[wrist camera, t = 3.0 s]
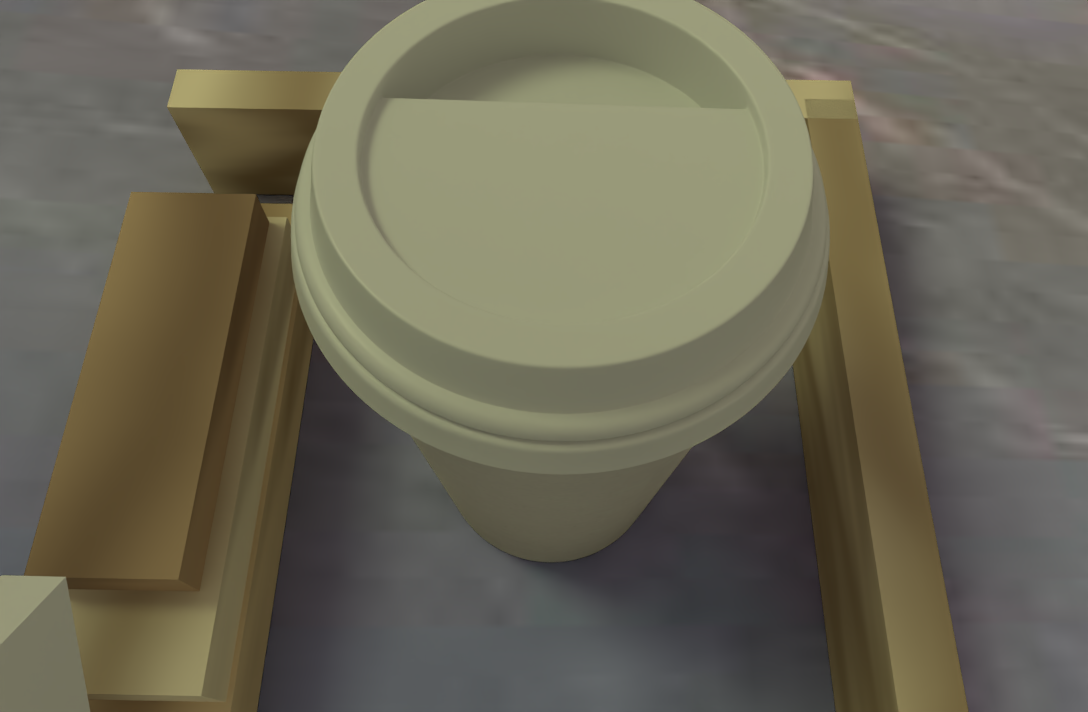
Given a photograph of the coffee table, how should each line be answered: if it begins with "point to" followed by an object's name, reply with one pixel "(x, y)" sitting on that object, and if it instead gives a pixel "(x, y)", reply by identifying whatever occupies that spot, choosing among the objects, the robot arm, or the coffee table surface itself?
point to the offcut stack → (181, 456)
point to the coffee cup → (559, 249)
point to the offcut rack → (819, 370)
